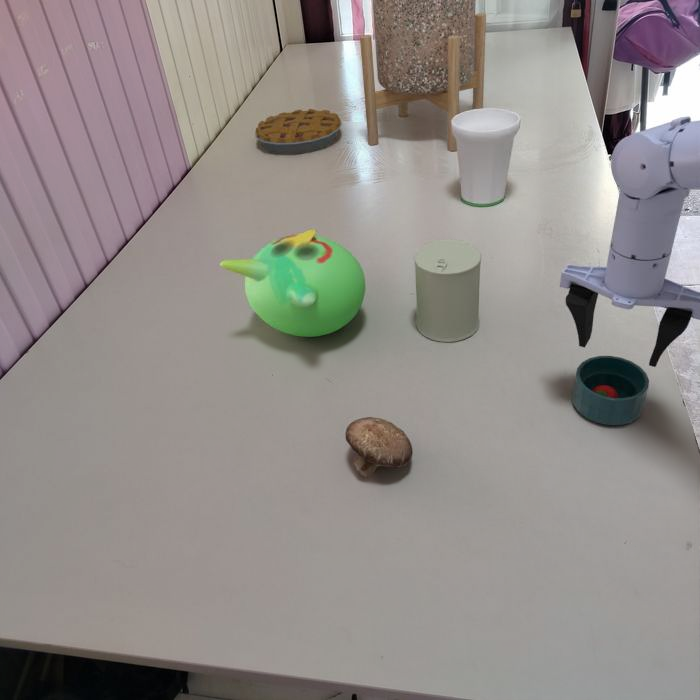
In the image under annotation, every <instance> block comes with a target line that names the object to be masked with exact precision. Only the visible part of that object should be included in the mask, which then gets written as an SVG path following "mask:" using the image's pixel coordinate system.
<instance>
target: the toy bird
mask: <svg viewBox="0 0 700 700" xmlns="http://www.w3.org/2000/svg"><path fill="white" fill-rule="evenodd" d="M219 264H220V267H222V268H223V269H225V270H227V271H230V272H232V273H235V274H238V275H240V276H243V277H244V290H245V297H246V299H247V301H248V304H249V306H250V308H251V309H252V310H253V312H254V313H255V314H256V315H257V316H258V318H259V319H260V320H262V321H263V322H264V323H266V324H267V325H268V326H271V327H272V328H273V329H275V330H277V331H279V332H281V333H284V334H287V335H290V336H294V337H295V336H296V337H304V338H313V337H321V336H325V335H330V334H333V333H334V332H336V331H338V330H340V329H342V328H343V327H345V326H346V325H347V324H349V323H350V322H351V321H353V319H354V318H355V317H356V315H357V314H358V312H359V310H360V309H361V306H362V305H363V303H364V302H363V301H364V298H365V294H366V277H365V273H364V270H363V268H362V267H361V264H360V262H359V261H358V259H357V258H356V257H355V256H354V254H353V253H351V252H350V251H349V250H348V249H347V248H346V247H344V246H343V245H342V244H340V243H339V242H336V241H334V240H332V239H330V238H328V237H324V236H322V235H317V229H315V228H313V229H309V230H306V231H304V232H303V231H302V232H301V233H298V234H290V235H285V236H281V237H279V238H277V239H274V240H272V241H270V242H269V243H267V244H265V245H264V246H263V247H262V248H260V249H259V250H258V252H257V253H255V255H254V256H253V258H245V259H244V258H237V259H236V258H235V259H225V260H222V261H220V263H219Z"/></svg>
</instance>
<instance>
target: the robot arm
mask: <svg viewBox="0 0 700 700" xmlns="http://www.w3.org/2000/svg"><path fill="white" fill-rule="evenodd" d="M610 168H611V174H612V177H613V181H614V182H615V184H616V186H617V187H618V188H619V193H618V199H617V204H616V210H615V216H614V222H613V228H612V233H611V237H610V238H611V239H610V245H609V250H608V256H607V260H606V261H607V262H606V266H587V265H586V266H585V265H575V264H570V263H567V264H566V265H565V267H564V268H563V269H562V271H561V273H560V281H559V288H563V289H569V290H568V293H567V295H566V296H565V305H566V307H567V309H568V310H569V312H570V314H571V316H572V318H573V322H574V324H575V327H576V333H577V338H578V346H579V347H581V348H583V349H584V348H585V349H586V346H587V345H588V343H589V341H590V339H591V337H592V332H593V327H594V326H593V325H594V318H595V317H594V316H595V309H596V307H597V301H598V298H599V295H601V296H603V297H605V298H607V299H609V300H612V301H611V305H612V306H614V307H616V308H621V309H624V310H632V309H633V308H634V307H635V306H637V307H639V306H640V307H656V308H657V307H658V308H663V309H665V311H664V313H663V314H662V317H661V319H660V321H659V323H658V324H659V325H658V328H657V329H658V331H657V335H656V341H655V344H654V347H653V351H652V353H651V355H650V358H649V361H648V366H649V367H653V368H656V367H657V365H658V363H659V360H660V358H661V356H662V355H663V353H664V352H665V351H666V349H667V348H668V347H669V346H670V345H671V344H672V343H673V342H674V341H675V340H676V339H678V338H679V337H680V336H681V335H683V333H684V332H685V331H686V330H687V328H688V327H689V325H690V321H691V319H695V320H698V321H700V291H697V290H695V289H693V288H692V289H691V288H689V287H687V286H684V285H682V284H680V283H677V282H675V281H673V280H670V279H668V278H666V276H667V271H668V267H669V264H670V261H671V260H670V259H671V256H672V252H673V247H674V243H675V239H676V235H677V231H678V227H679V222H680V218H681V214H682V210H683V207H684V203H685V199H686V198H687V197H689V196H690V192H691V191H696V190H700V119H699V120H692V118H691V117H690V116H689V115H688V116H681V117H678V118H675V119H672V120H671V121H669V122H665V123H662V124H659V125H656V126H654V127H650V128H647V129H644V130H641V131H636V132H634V133H632V134H630V135H628V136H625V137H624V138H622V139H621V140H619V141H618V143H617V144H616V145H615V147H614V149H613V151H612V154H611V159H610Z"/></svg>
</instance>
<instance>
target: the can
mask: <svg viewBox="0 0 700 700" xmlns="http://www.w3.org/2000/svg"><path fill="white" fill-rule="evenodd" d="M413 260H414V261H413V262H414V272H415V292H416V293H415V295H416V297H415V298H416V319H415V320H416V322H415V325H416V329H417V330H418V332H419V333H420V334H421V335H422V336H423V337H425V338H426V339H429V340H431V341H435V342H440V343H455V342H461V341H464V340H466V339H468V338H470V337H473V335H475V333H477V331H478V329H479V327H480V318H479V316H480V312H479V311H480V310H479V309H480V283H481V281H480V279H481V263H482V252H481V251H480V249H479V248H478V246H476V245H474V244H473V243H470V242H468V241H466V240H465V241H464V240H460V239H439V240H434V241H431V242H428V243H425V244H423V245H422V246H420V247H419V248H418V249H417V250H415V254H414V256H413Z"/></svg>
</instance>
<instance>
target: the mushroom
mask: <svg viewBox="0 0 700 700" xmlns="http://www.w3.org/2000/svg"><path fill="white" fill-rule="evenodd" d="M345 440H346V443H347V444H348V445H349V446H350V447H351V448H352V450H353V451H354V452H355V453H356V455H355V457H354V459H353V465H354V467H355V470H356V471H357V472H358V473H359V474H360V475H361V476H362V477H364V478H371V477H372V475H373V474H374V473H375V471H376V470H377V468H378V467H388V468H400V467H405V466H406V465H408V464H409V462H410V461H411V459H412V458H413V453H414V452H413V446H412V445H413V444H412V443H411V440H410V439H409V437H408V436H407V434H406V433H405V432H404V430H402V428H400V427H398V426H397V425H395V424H394V423H393V422H390V421H388V420H386V419H383V418H380V417H373V416H366V417H361V418H359V419H356V420H353V421H352V422H350V424H348V426H347V427H346V430H345Z"/></svg>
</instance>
